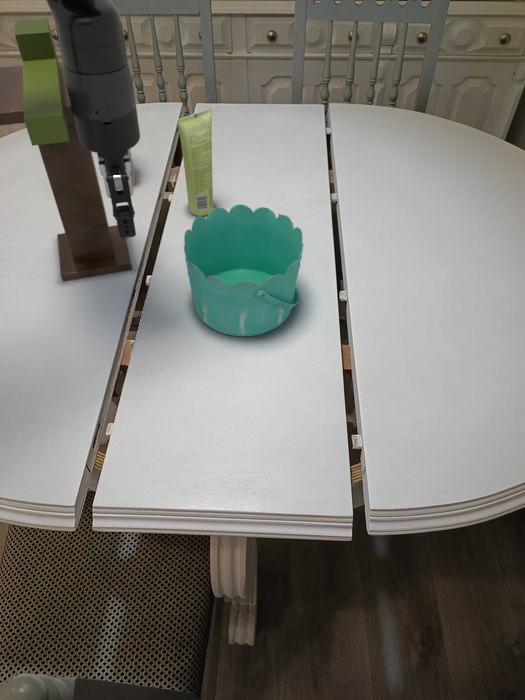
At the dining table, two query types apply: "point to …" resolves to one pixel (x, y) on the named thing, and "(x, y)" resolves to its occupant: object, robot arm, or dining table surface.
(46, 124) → the green l-shaped block
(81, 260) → the brown wooden podium
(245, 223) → the bucket
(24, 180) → the dining table surface
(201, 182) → the tube
